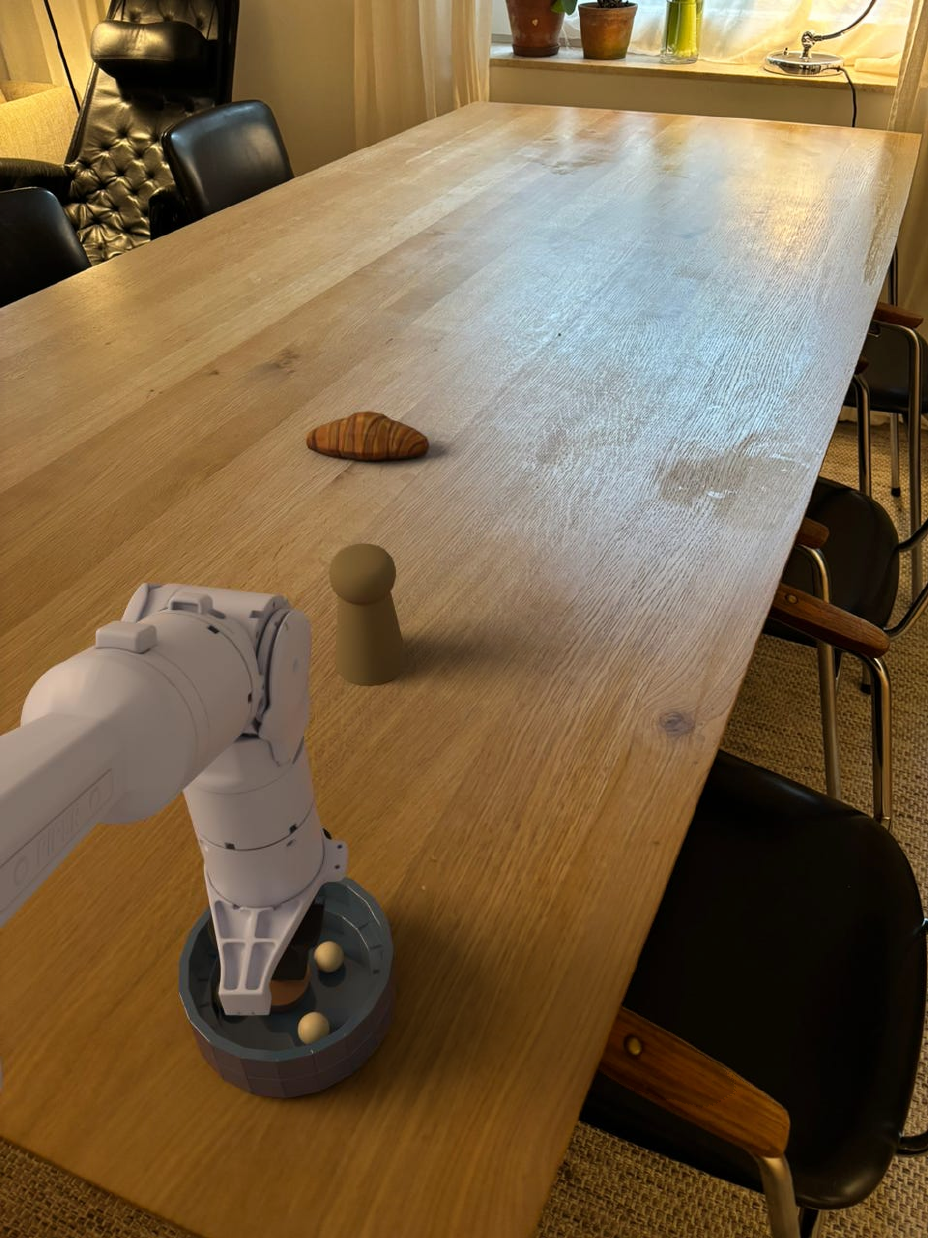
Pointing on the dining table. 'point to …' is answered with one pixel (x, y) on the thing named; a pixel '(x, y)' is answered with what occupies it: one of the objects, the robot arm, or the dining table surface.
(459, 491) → the dining table surface
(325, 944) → the chickpea
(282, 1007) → the wooden pestle
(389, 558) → the brown game pawn
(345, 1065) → the bowl
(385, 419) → the croissant
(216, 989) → the chickpea
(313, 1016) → the chickpea
